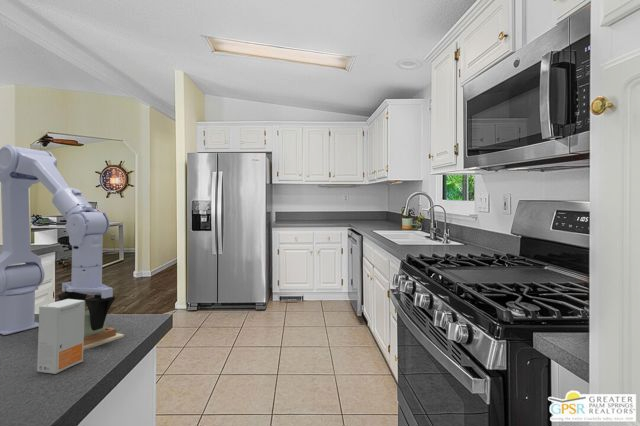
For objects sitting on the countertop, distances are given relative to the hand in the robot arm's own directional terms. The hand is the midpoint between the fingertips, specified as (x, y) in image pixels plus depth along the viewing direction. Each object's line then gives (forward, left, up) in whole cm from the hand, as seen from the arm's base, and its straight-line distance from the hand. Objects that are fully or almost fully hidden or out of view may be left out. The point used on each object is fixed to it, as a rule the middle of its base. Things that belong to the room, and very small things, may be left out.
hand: (86, 326), depth 80 cm
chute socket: (0, 0, -3) cm, 3 cm away
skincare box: (+9, -10, -4) cm, 14 cm away
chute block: (0, 0, -3) cm, 3 cm away
